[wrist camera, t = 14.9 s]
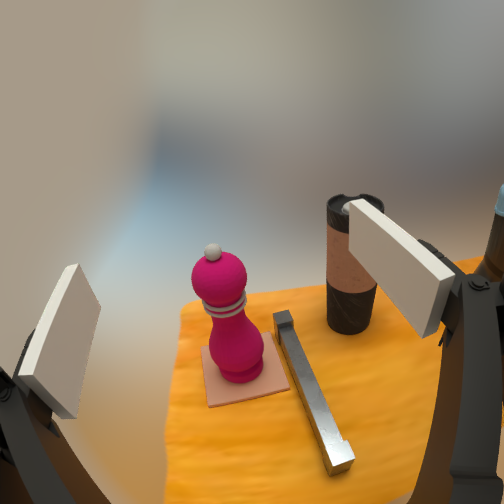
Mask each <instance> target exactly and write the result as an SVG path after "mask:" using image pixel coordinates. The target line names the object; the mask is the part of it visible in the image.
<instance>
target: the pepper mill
mask: <svg viewBox="0 0 504 504" xmlns="http://www.w3.org/2000/svg"><path fill="white" fill-rule="evenodd" d="M204 253H205V256H204V257H202V258H201V259H200V260H199V261H198V262H197V263H196V264H195V266H194V268H193V271H192V277H191V278H192V279H191V280H192V286H193V289H194V291H195V293H196V294H197V295H198V296H199V297H200V298H201V299H202V303H203V305H204V310H205V311H206V313H208V314H209V315H211V317H212V321H213V328H212V332H211V335H210V339H209V351H210V355H211V358H212V360H213V361H214V363H215V364H216V365H217V366H218V367H219V370H220V372H221V374H222V376H223V377H224V378H225V379H226V380H228V381H230V382H233V383H246V382H249V381H252V380H254V379H255V378H256V377H258V376H259V374H260V373H261V372H262V369H263V365H264V364H263V357H262V355H263V352H264V342H263V339H262V336H261V334H260V332H259V331H258V329H257V327H256V326H255V325H254V324H253V323H252V322H251V321H250V320H249V319H248V318H247V317H246V315H245V311H244V307H245V305H246V302H247V298H246V292H245V289H244V288H245V286H246V282H247V273H246V269H245V267H244V265H243V263H242V262H241V261H240V260H239V258H237V257H236V256H234V255H233V254H231V253H227V252H222V251H221V248H220V247H219V245H217V244H209V245H208V246H207V247H206V248H205V251H204Z"/></svg>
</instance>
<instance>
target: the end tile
mask: <svg viewBox="0 0 504 504" xmlns="http://www.w3.org/2000/svg"><path fill="white" fill-rule="evenodd" d="M261 336H262V339H263V342H264V352H263V355H262V357H263V364H264V365H263V369H262V372H261V373H260V374H259V376H258V377H256V378H255V379H254V380H252V381H249V382H246V383H233V382H230V381H228V380H226V379H225V378H224V377H223V376H222V374H221V372H220V370H219V367H218V366H217V365H216V364H215V363H214V361H213V360H212V358H211V355H210V351H209V345H207V346H203V347H201V354H202V363H203V371H204V379H205V387H206V394H207V402H208V407H209V408H211V407H216V406H222V405H227V404H232V403H236V402H241V401H245V400H250V399H254V398H258V397H263V396H267V395H271V394H274V393H278V392H282V391H286V390H289V389H290V386H289V383H288V380H287V378H286V375H285V372H284V369H283V367H282V364H281V361H280V358H279V356H278V353H277V350H276V347H275V345H274V342H273V339H272V336H271V333H270V331H269V332H265V333H261Z"/></svg>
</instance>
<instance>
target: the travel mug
mask: <svg viewBox="0 0 504 504" xmlns="http://www.w3.org/2000/svg"><path fill="white" fill-rule="evenodd" d="M359 199H364V200H365V201H367V202H368V203H369V204H371V205H372V206H373V207H375V208H376V209H377V210H379V211H380V212H381V213H383V214H384V204H383V202H382V201H381V200H380V199H378V198H376V197H374V196H371V195H368V194H360V195H359V196H356V197H347V196H345V195H344V194H339V195H336V196H333V197H331V198H330V199H329V200H328V202H327V271H326V277H327V278H326V283H327V321H328V324H329V326H330V327H331V328H332V329H333V330H334V331H336V332H338V333H341V334H346V335H352V334H357V333H360V332H362V331H363V330H365V329H366V327H367V326H368V324H369V321H370V318H371V313H372V308H373V303H374V298H375V293H376V288H377V282H376V281H375V280H374V279H373V278H372V277H371V275H370V274H369V273H368V272H367V271H366V270H365V268H364V267H363V266H362V265H361V264H360V263H359V261H358V260H357V259H356V258H355V257H354V256H353V255H352V253H351V252H350V251H349V201H353V200H359Z"/></svg>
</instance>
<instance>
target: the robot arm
mask: <svg viewBox="0 0 504 504" xmlns="http://www.w3.org/2000/svg"><path fill="white" fill-rule="evenodd" d="M349 251H350V252H351V253H352V255H353V256H354V257H355V258H356V259H357V260H358V261H359V263H360V264H361V265H362V266H363V267H364V268H365V270H366V271H367V272H368V273H369V274H370V275H371V277H372V278H373V279H374V280H375V281H376V282H377V284H378V285H379V286H380V287H381V288H382V290H383V291H384V292H385V293H386V294H387V296H388V297H389V298H390V299H391V300H392V302H393V303H394V304H395V305H396V307H397V308H398V309H399V310H400V312H401V313H402V314H403V315H404V317H405V318H406V319H407V320H408V322H409V323H410V324H411V325H412V327H413V328H414V329H415V331H416V332H417V333H418V334H419V336H420V337H421V338H425V337H427V336H429V335H431V334H433V333H435V332H437V329H438V327H439V324H440V321H442V322H443V323H444V325H445V326H446V327H445V330H444V332H443V335H442V337H441V340H440V342H439V345H438V346H441V344H442V342H443V348H442V359H441V369H440V377H439V385H438V392H437V398H436V404H435V410H434V415H433V421H432V425H431V430H430V435H429V439H428V443H427V447H426V451H425V455H424V459H423V463H422V466H421V470H420V473H419V476H418V480H417V483H416V486H415V489H414V492H413V494H412V496H411V498H410V500H409V501H408V503H407V504H501V500H502V495H503V487H504V485H503V481H502V479H501V478H499V477H498V476H497V473H496V468H497V461H498V454H499V445H500V435H501V422H502V401H503V406H504V184H503V185H502V186H501V188H500V192H499V196H498V201H497V204H496V206H495V216H494V221H493V225H492V229H491V233H490V237H489V241H488V245H487V248H486V252H485V255H484V258H483V260H482V261H481V263H480V264H479V266H478V267H477V269H476V270H475V271H474V273H473V274H467V275H466V274H465V273H464V272H462V271H461V270H460V269H459V268H458V267H457V266H456V265H455V264H453V263H452V262H451V261H450V260H449V259H447V258H446V257H444V255H443V254H442V253H440V252H438V250H437V249H436V248H434V247H433V246H432V245H431V244H429V243H427V242H425V241H423V240H420V239H419V240H415V239H414V238H413V237H412V236H410V235H409V234H408V233H407V232H406V231H404V230H403V229H402V228H401V227H399V226H398V225H397V224H396V223H394V222H393V221H392V220H391V219H389V218H388V217H387V216H385V215H384V214H383V213H381V212H380V211H379V210H377V209H376V208H375V207H373V206H372V205H371V204H369V203H368V202H367V201H365V200H364V199H359V200H353V201H349ZM100 310H101V306H100V304H99V302H98V300H97V299H96V297H95V295H94V293H93V291H92V289H91V287H90V285H89V283H88V281H87V279H86V277H85V275H84V273H83V271H82V269H81V267H80V265H79V263H78V264H74V265H70V266H67V267H66V268H65V270H64V272H63V274H62V276H61V278H60V279H59V281H58V283H57V285H56V287H55V290H54V291H53V293H52V295H51V297H50V300H49V302H48V304H47V306H46V308H45V310H44V312H43V314H42V316H41V319H40V321H39V323H38V325H37V328H36V329H34V330H33V332H32V333H31V334H30V336H29V337H28V339H27V341H26V344H25V346H24V349H23V351H22V354H21V356H20V359H19V361H18V364H17V366H16V369H15V372H14V375H13V378H12V379H11V378H10V377H9V376H8V374H7V373H6V372H5V371H4V370H3V369H2V368H1V367H0V504H111V503H110V502H109V500H108V499H107V498H106V497H105V495H104V494H103V493H102V492H101V490H100V489H99V488H98V486H97V485H96V484H95V483H94V481H93V480H92V478H91V477H90V476H89V474H88V473H87V471H86V470H85V469H84V467H83V466H82V464H81V463H80V461H79V460H78V458H77V457H76V455H75V454H74V452H73V451H72V449H71V447H70V446H69V444H68V442H67V441H66V439H65V437H64V436H63V434H62V433H61V431H60V429H59V427H58V425H57V424H56V422H55V421H54V420H53V419H52V418H51V417H52V412H54V413H56V415H58V416H59V417H60V418H61V419H77V413H78V407H79V401H80V395H81V389H82V384H83V379H84V374H85V370H86V365H87V361H88V356H89V352H90V348H91V344H92V340H93V336H94V332H95V327H96V324H97V321H98V317H99V313H100Z"/></svg>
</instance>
